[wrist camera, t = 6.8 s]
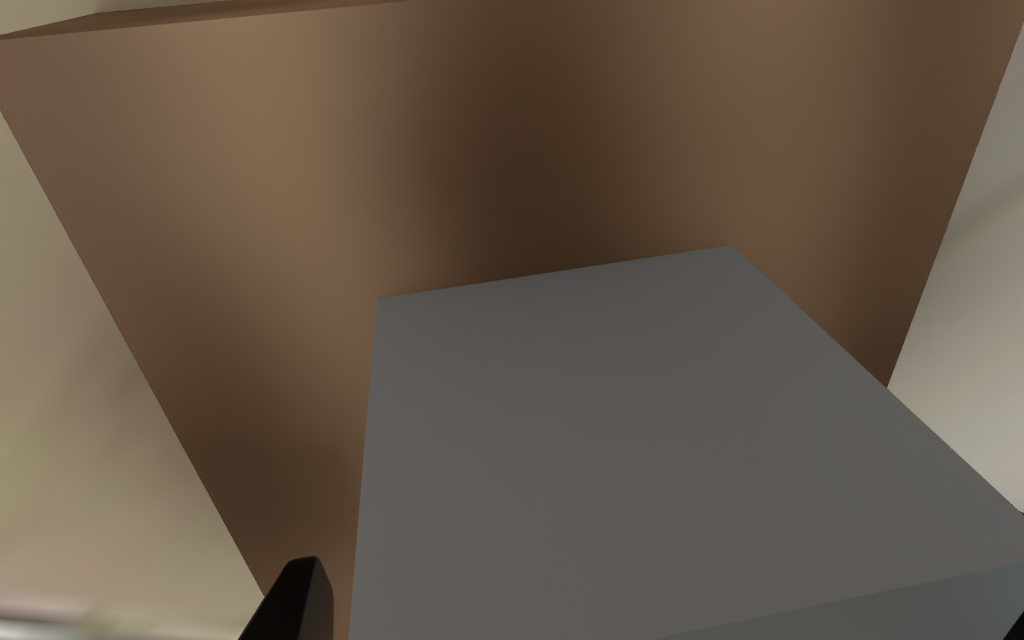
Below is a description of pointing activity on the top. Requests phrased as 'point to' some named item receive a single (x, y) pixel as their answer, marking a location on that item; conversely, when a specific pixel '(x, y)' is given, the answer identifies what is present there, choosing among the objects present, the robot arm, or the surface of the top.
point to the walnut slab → (472, 187)
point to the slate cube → (659, 472)
